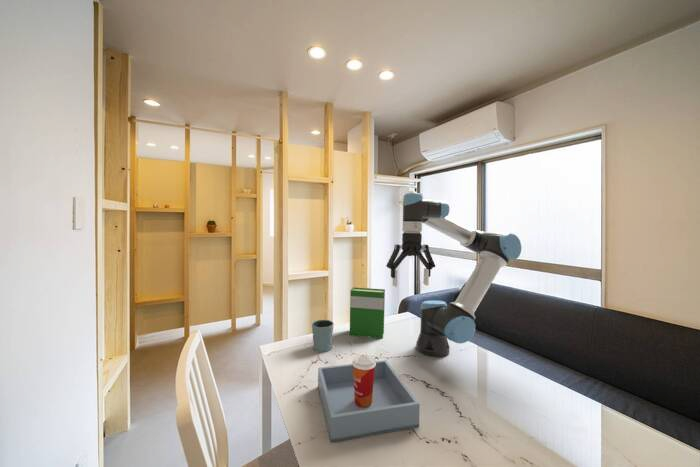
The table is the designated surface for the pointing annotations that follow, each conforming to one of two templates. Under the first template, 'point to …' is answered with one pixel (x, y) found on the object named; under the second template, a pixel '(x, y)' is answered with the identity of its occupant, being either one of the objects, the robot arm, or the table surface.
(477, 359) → the table surface
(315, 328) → the grey-blue cup
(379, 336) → the hardback book
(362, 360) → the paper cup
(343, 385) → the bin
